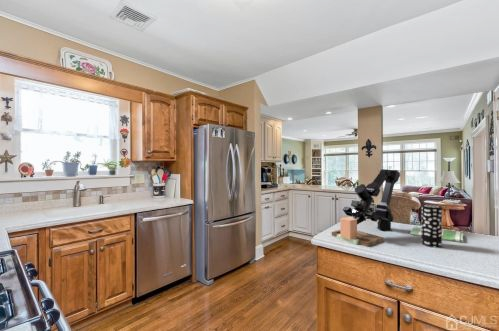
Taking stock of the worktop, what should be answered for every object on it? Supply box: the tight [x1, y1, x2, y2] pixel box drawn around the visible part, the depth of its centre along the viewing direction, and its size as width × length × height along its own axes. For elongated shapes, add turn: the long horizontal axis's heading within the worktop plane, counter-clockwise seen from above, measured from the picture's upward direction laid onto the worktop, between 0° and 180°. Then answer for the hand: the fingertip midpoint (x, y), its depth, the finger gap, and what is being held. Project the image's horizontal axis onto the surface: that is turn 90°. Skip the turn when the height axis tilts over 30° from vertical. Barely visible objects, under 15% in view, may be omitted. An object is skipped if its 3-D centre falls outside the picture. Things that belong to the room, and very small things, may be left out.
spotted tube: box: [420, 204, 443, 249], centre depth 122 cm, size 8×8×20 cm
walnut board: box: [331, 229, 384, 248], centre depth 133 cm, size 15×22×2 cm
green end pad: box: [336, 234, 359, 245], centre depth 129 cm, size 3×12×2 cm, turn 32°
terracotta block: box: [339, 216, 358, 239], centre depth 129 cm, size 6×6×10 cm
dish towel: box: [409, 225, 465, 243], centre depth 138 cm, size 18×23×3 cm
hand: (353, 225), depth 132 cm, fingers closed
